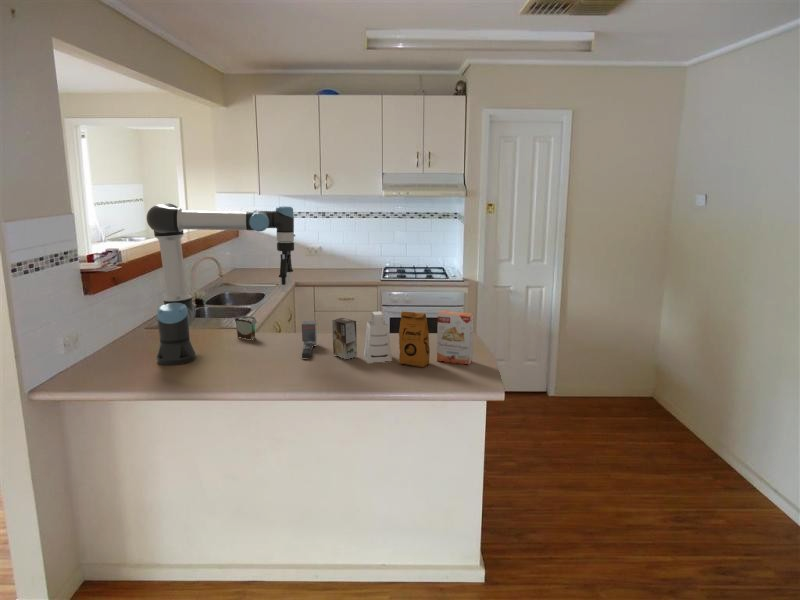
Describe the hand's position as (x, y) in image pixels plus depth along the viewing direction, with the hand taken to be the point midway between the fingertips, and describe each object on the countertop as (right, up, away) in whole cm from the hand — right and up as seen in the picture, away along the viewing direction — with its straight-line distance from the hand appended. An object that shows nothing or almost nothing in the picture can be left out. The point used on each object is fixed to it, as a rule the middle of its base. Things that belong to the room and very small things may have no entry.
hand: (286, 288), depth 251 cm
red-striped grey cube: (+10, -23, +4) cm, 25 cm away
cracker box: (+74, -31, -18) cm, 82 cm away
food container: (-22, -23, +18) cm, 37 cm away
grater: (+42, -30, -14) cm, 53 cm away
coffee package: (+57, -32, -21) cm, 69 cm away
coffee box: (+28, -30, -11) cm, 42 cm away
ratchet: (+10, -28, -4) cm, 30 cm away
